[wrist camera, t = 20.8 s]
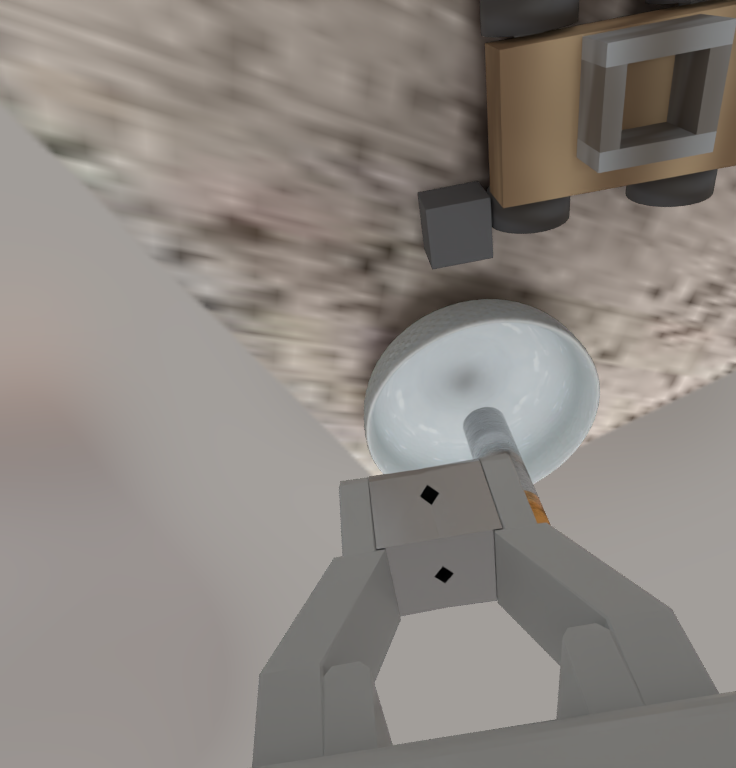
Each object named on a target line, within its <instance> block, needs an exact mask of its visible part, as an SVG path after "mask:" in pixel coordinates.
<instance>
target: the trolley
mask: <svg viewBox="0 0 736 768" xmlns="http://www.w3.org/2000/svg"><path fill="white" fill-rule="evenodd" d="M645 3H648V4H673V3H679V5H678V6H677V7H672V8H666V9H661V10H656V11H651V12H646V13H640V14H635V15H630V16H625V17H620V18H614V19H609V20H604V21H599V22H594V23H588V24H583V25H578V26H573V27H568V28H562V29H557V28H561V27H565V26H568V25H571V24H573V23H576V22H577V21H578V12H579V0H480V19H481V35H482V36H484V37H508V36H514V38H510V39H505V40H500V41H495V42H490V43H485V61H486V89H487V117H488V145H489V173H490V186H489V187H488V189H487V194H488V195H489V196H490V200H491V221H492V227H493V228H494V229H496V230H499V231H502V232H507V233H515V234H528V233H537V232H543V231H547V230H551V229H554V228H556V227H559V226H560V225H562V224H564V223H565V222H566V221H567V220H568V219H569V211H570V196H572V195H578V194H583V193H589V192H594V191H600V190H605V189H610V188H616V187H621V186H626V196H627V198H629V199H630V200H632V201H634V202H636V203H639V204H643V205H649V206H658V207H675V206H685V205H691V204H695V203H699V202H701V201H704V200H706V199H708V198H709V197H711V196H712V194H713V191H714V185H715V180H716V175H717V169H719V168H724V167H730V166H735V165H736V0H645ZM553 29H557V30H553ZM548 30H552V31H548ZM544 31H547V32H544Z"/></svg>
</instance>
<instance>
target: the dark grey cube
mask: <svg viewBox="0 0 736 768" xmlns="http://www.w3.org/2000/svg"><path fill="white" fill-rule="evenodd" d="M418 200H419V209H420V217H421V225H422V234H423V242H424V249H425V252H426V254H427V257H428V259H429V262H430V264H431V267H432V269H437V268H442V267H447V266H453V265H458V264H463V263H468V262H474V261H479V260H484V259H489V258H493V243H492V221H491V200H490V196H489V195H488V194H487V192H486V191H485V190H484V189H483V187H482V186H481V185H480V183H479V182H478V181H474V182H469V183H464V184H459V185H454V186H449V187H444V188H439V189H434V190H428V191H423V192H418Z"/></svg>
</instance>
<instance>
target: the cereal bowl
mask: <svg viewBox="0 0 736 768" xmlns="http://www.w3.org/2000/svg"><path fill="white" fill-rule="evenodd" d="M599 398H600V385H599V378H598V374H597V370H596V368H595V365H594V363H593V361H592V358H591V357H590V355H589V354H588V352H587V350H586V349H585V347H584V346H583V345H582V344H581V343H580V341H579V340H578V339H577V338H576V337H575V336H574V335H573V334H572V333H571V332H570V331H569V330H568V329H567V328H566V327H565V326H564V325H562V324H561V323H560V322H559V321H558V320H556V319H555V318H553V317H551V316H550V315H548V314H547V313H545V312H542V311H541V310H538V309H537V308H534V307H531V306H529V305H526V304H522V303H519V302H514V301H509V300H499V299H480V300H471V301H466V302H460V303H457V304H453V305H450V306H446V307H444V308H441V309H439V310H436V311H434V312H433V313H430V314H428V315H426V316H425V317H422V318H421V319H420V320H417V321H416V322H415V323H413V324H412V325H411V326H410V327H408V328H406V330H405V331H403V332H402V333H401V334H400V335H399V336H397V338H396V339H395V340H394V341H393V342H391V344H390V345H389V346H388V347H387V349H386V350H385V351H384V352H383V354H382V356H381V357H380V359H379V360H378V362H377V363H376V366H375V368H374V369H373V372H372V374H371V378H370V380H369V383H368V388H367V390H366V397H365V401H364V430H365V437H366V440H367V446H368V449H369V452H370V454H371V457H372V459H373V461H374V463H375V464H376V465H377V467H378V468H379V470H380V471H381V472H382V473H383V474H390V473H397V472H403V471H410V470H417V469H423V468H427V467H432V466H438V465H444V464H449V463H455V462H460V461H466V460H471V459H473V458H472V455H471V452H470V449H469V445H468V442H467V439H466V436H465V433H464V430H463V423H464V420H465V418H466V417H467V416H468V415H469V414H470V413H471V412H472V411H474V410H476V409H479V408H482V407H492V408H496V409H498V410H499V411H501V412H502V413H503V415H504V417H505V419H506V422H507V424H508V427H509V429H510V431H511V434H512V436H513V438H514V441H515V443H516V445H517V448H518V450H519V452H520V455H521V457H522V459H523V462H524V464H525V466H526V469H527V471H528V474H529V476H530V478H531V481H532V483H533V484H534V483H536V482H538V481H540V480H541V479H543V478H544V477H546V476H547V475H549V474H550V473H552V472H553V471H554V470H556V469H557V468H558V467H559V466H561V465H562V464H563V463H564V462H565V461H566V460H567V459H568V458H569V457H570V456H571V455H572V454H573V453H574V452H575V451H576V449H577V448H578V447H579V446H580V444H581V443H582V442H583V440H584V438H585V437H586V435H587V434H588V432H589V430H590V428H591V426H592V424H593V422H594V419H595V416H596V413H597V409H598V405H599Z"/></svg>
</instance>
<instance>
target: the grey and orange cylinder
mask: <svg viewBox="0 0 736 768" xmlns="http://www.w3.org/2000/svg"><path fill="white" fill-rule="evenodd" d="M463 430H464V433H465V436H466V439H467V442H468V445H469V449H470V452H471V455H472V458H473V459H478V458H482V457H487V456H493V455H498V454H504V453H507V454H508V455H509V456H510V458H511V460H512V463H513V465H514V468H515V470H516V472H517V475H518V477H519V480H520V482H521V485H522V487H523V490H524V492H525V494H526V497H527V499H528V502H529V504H530V507H531V509H532V511H533V514H534V516H535V519H536V521H537V524H538V523H548V524H549V525H550V523H549V521H548V518H547V516H546V513H545V511H544V509H543V507H542V504H541V502H540V500H539V497H538V495H537V492H536V490H535V488H534V485H533V483H532V481H531V478H530V476H529V474H528V471H527V469H526V466H525V464H524V462H523V459H522V457H521V455H520V452H519V450H518V448H517V445H516V443H515V441H514V438H513V436H512V434H511V431H510V429H509V427H508V424H507V422H506V419H505V417H504V415H503V413H502V412H501V411H499V410H498V409H496V408H492V407H482V408H479V409H476V410H474V411H472V412H471V413H470V414H469V415H468V416H467V417H466V418H465V420H464V423H463Z"/></svg>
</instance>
